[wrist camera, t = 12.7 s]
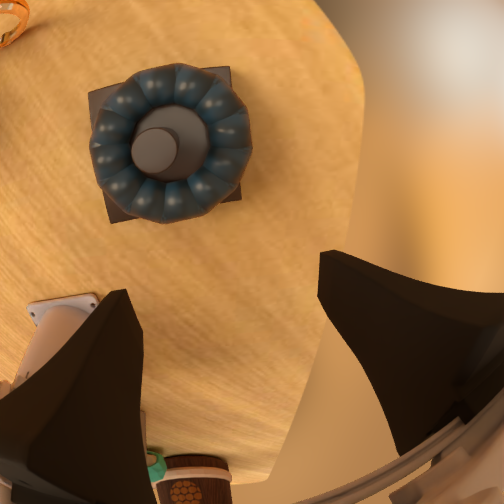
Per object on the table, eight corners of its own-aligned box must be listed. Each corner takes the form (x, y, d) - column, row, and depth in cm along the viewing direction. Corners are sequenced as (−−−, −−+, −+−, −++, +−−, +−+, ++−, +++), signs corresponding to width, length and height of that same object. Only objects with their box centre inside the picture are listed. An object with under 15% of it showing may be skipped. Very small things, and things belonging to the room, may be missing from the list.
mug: (215, 447, 35) (235, 526, 22) (236, 468, 43) (253, 527, 30) (113, 458, 33) (117, 528, 20) (150, 479, 40) (158, 535, 27)
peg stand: (238, 195, 19) (265, 231, 13) (114, 218, 17) (86, 264, 11) (227, 69, 15) (251, 40, 9) (93, 94, 13) (49, 82, 7)
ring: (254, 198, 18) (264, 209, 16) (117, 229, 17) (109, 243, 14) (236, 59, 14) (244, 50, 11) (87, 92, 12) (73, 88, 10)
